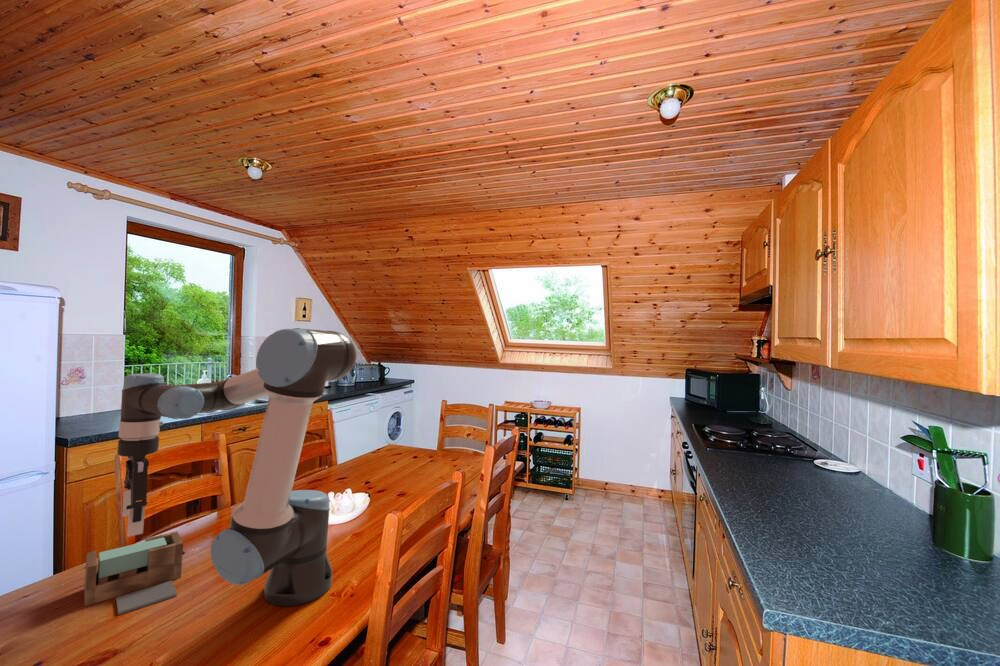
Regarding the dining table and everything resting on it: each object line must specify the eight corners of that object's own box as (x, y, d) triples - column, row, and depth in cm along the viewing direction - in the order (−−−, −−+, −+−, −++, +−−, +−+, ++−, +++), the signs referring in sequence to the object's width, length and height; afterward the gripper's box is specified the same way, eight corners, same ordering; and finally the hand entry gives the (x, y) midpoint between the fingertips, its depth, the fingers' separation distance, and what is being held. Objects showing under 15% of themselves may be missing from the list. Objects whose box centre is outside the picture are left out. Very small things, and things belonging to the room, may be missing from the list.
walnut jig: (175, 563, 108) (177, 531, 109) (180, 577, 102) (183, 543, 103) (84, 589, 96) (86, 552, 96) (84, 606, 90) (87, 567, 90)
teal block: (162, 552, 105) (164, 537, 105) (165, 560, 102) (166, 544, 102) (97, 569, 96) (99, 552, 97) (98, 578, 93) (99, 561, 93)
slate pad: (176, 596, 95) (176, 593, 95) (118, 615, 88) (118, 612, 88) (171, 582, 100) (171, 580, 100) (116, 599, 93) (116, 597, 93)
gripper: (167, 445, 94) (159, 538, 93) (152, 426, 111) (146, 504, 110) (122, 450, 88) (114, 549, 88) (115, 429, 105) (108, 511, 105)
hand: (132, 524), depth 99 cm, fingers open, 13 cm apart
